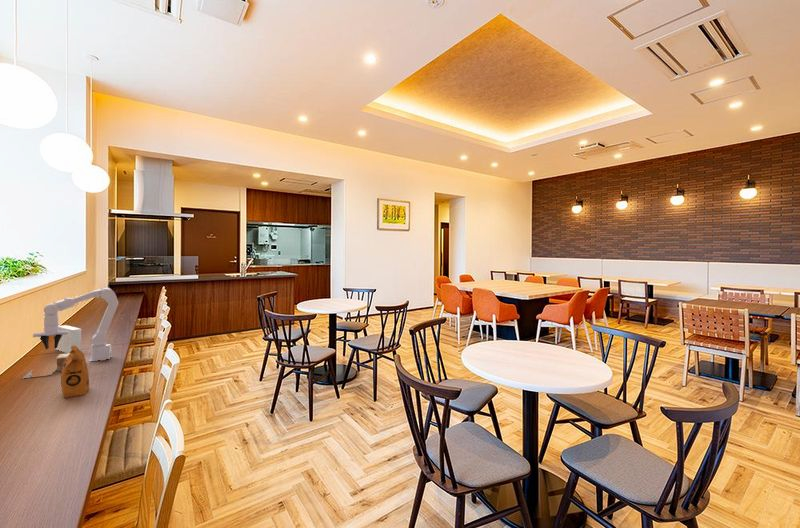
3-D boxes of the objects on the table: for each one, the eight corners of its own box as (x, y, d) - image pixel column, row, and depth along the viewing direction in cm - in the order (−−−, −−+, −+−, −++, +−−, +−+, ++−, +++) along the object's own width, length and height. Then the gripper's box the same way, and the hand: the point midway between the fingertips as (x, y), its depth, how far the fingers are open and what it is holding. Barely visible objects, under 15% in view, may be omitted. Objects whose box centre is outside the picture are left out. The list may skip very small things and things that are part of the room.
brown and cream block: (69, 367, 195) (69, 353, 195) (66, 370, 190) (66, 356, 190) (60, 368, 193) (60, 354, 193) (56, 371, 188) (56, 357, 188)
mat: (62, 364, 199) (62, 363, 199) (51, 375, 182) (51, 374, 182) (36, 367, 193) (36, 366, 193) (21, 379, 176) (21, 378, 176)
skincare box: (82, 352, 221) (82, 328, 220) (71, 354, 216) (71, 330, 215) (66, 347, 230) (66, 324, 229) (55, 349, 225) (55, 326, 224)
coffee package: (58, 400, 155) (57, 352, 154) (62, 390, 164) (62, 345, 164) (87, 394, 161) (87, 349, 160) (90, 386, 171) (90, 342, 170)
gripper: (70, 322, 202) (70, 344, 203) (36, 324, 194) (36, 347, 195) (67, 324, 196) (67, 348, 197) (31, 327, 188) (31, 351, 189)
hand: (51, 348), depth 195 cm, fingers open, 3 cm apart
